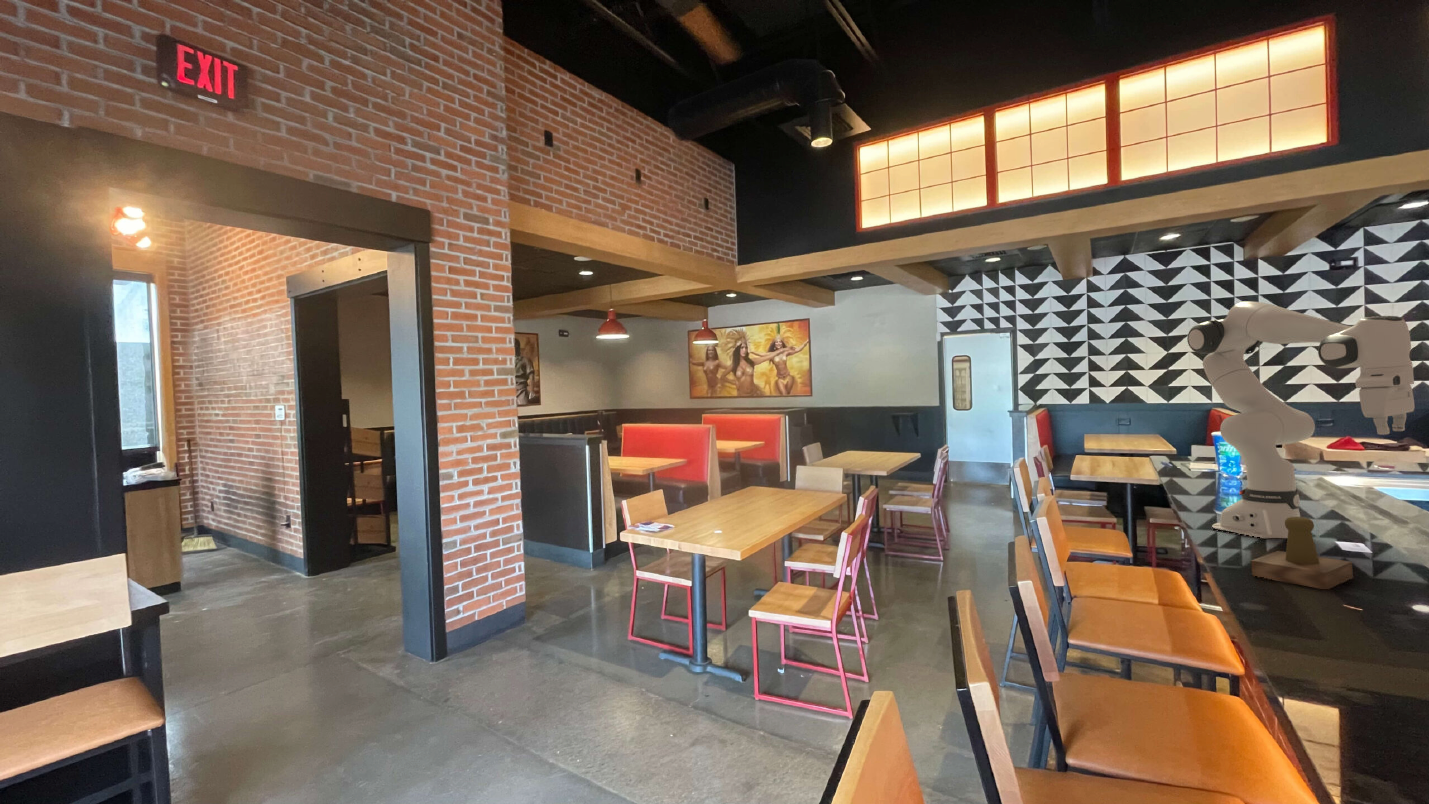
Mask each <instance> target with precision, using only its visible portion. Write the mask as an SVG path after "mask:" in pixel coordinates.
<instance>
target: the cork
mask: <svg viewBox="0 0 1429 804" xmlns="http://www.w3.org/2000/svg"><path fill="white" fill-rule="evenodd" d="M1285 526H1286V528H1287V529H1288V538H1286V539H1287V541H1286V549H1285V550H1286V551H1285V552H1286V559H1285V560H1286V561H1288V562H1292V563H1297V564H1308V565H1314V564H1319V559H1318V557H1319V556H1318V552H1317V549H1316V544H1315V540H1314V538H1313V533H1312V531H1313V530H1314V527H1315V524H1314V522H1313V520H1312V519H1310V518H1308V517H1304V516H1300V517H1289V518H1287V519H1286V520H1285Z"/></svg>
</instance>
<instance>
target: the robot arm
mask: <svg viewBox="0 0 1429 804" xmlns="http://www.w3.org/2000/svg"><path fill="white" fill-rule="evenodd" d="M1227 312H1228V313H1227V314H1226V317H1225V318H1223V319H1210V320H1208V321H1203V322H1201V323H1198V324H1196V325H1194V326H1192V328H1190V330H1189V331H1188V333H1187V336H1186V337H1187V343H1188V346H1189V348H1190V349H1191V350H1192V351H1193V352H1195V353H1198V354H1205V355H1206V356H1205V357H1203V360H1202V367H1203V370H1204V373H1205V375H1206V378H1207V379H1208V381H1209V383H1210V384H1211V386H1212V387H1213V389H1214V390H1215V392H1216V394H1217V395H1218V396H1219V398H1220V400H1221V401H1222V402H1223V404H1224V405H1225V406H1226V407H1227V408H1229V409H1231V410H1235V411H1238V412H1240V413H1237V414H1234V415H1230V416H1228V417H1226V418H1224V419H1223V420H1222V422H1221V424H1220V427H1219V428H1220V429H1219V431H1220V432H1219V433H1220V435H1221V437H1222V439H1223V440H1224V441H1225V442H1226V443H1227V444H1228V445H1231V447H1233V448H1234V449H1235V450H1236V451H1237V452H1238V453H1239V455H1240V456H1241V458H1242V460H1243V463H1244V466H1245V471H1246V478H1247V487H1246V488H1244V489H1241V490H1239V491H1238V492H1239V493H1238V495H1239V496H1240V495H1241V499H1240V500H1238V501H1236V502H1235V503H1233V504H1231V505H1229V506H1227V507H1225V508H1224V509H1223V510H1222V511H1221V515H1220V520H1219V522H1216V523H1213V524H1212V525H1211V528H1212V527H1213V528H1215V529H1220V530H1226V531H1231V532H1237V533H1239V534H1238V535H1240V534H1244V535H1243V536H1246V535H1249V536H1248V537H1252V536H1254V537H1253V538H1257V537H1260V538H1259V539H1288V529H1287V528H1286V526H1285V520H1286V519H1287V518H1289V517H1301V513H1300V510H1299V508H1300V503H1301V502H1300V495H1299V490H1298V489H1297V486H1296V485H1297V484H1296V473H1295V466H1294V465H1293V463H1292V462H1291V461H1289V460H1288V459H1286V458H1283V457H1282V456H1281V454H1280V453H1279V451H1278V449H1277V446H1279V445H1291V444H1292V445H1293V444H1297V443H1299V442H1302V441H1305V440H1308V439H1309V438H1311V437H1312V436H1313V434H1314V433H1315V430H1316V426H1315V420H1314V419H1313V418H1312V416H1311V415H1309V413H1307V412H1305V411H1301V410H1299V409H1296V408H1294V407H1292V406H1290V405H1288V404H1287V403H1285V402H1284V401H1282V400H1280V399H1279V398H1278V397H1276V396H1275V395H1274V394H1273V393H1271V392H1270V391H1269V390H1268V389H1266V387H1265V386H1264V385H1263V384H1262V383H1261V381H1260V379H1258V377H1257V376H1256V374H1255V373H1254V372H1253V371H1252V369H1251V368H1250V366H1249V365H1248V364H1247V363H1246V361H1245V359H1244V356H1245V355H1250V354H1253V353H1254V352H1255V351H1256V349H1257V348H1258V347H1260V346H1261V345H1263V343H1266V344H1267V343H1268V344H1273V345H1285V344H1301V343H1303V344H1304V343H1318V348H1317V354H1318V355H1317V356H1318V358H1319V360H1320V361H1321V363H1323V364H1324V365H1325V366H1326V367H1329V368H1333V369H1335V368H1336V369H1349V368H1360V369H1359V370H1360V374H1359V376H1358V377H1357V378H1356V379H1355V382H1354V383H1355V387H1356V388H1357V389H1359V390H1358V396H1359V397H1358V398H1359V402H1360V408H1361V413H1362V414H1363V416H1364V417H1365V418H1372V419H1373V423H1374V425H1375V427H1376V432H1377V433H1376V434H1377V435H1379V436H1380V435H1383V436H1384V435H1389V434H1390V433H1391V432H1390V430H1391V429H1390V427H1389V426H1388V417H1392V419H1393V420H1392V421H1393V422H1392V424H1391V426H1392V427H1391V428H1392V431H1393V432H1403V431H1405V430H1406V427H1405V425H1406V421H1407V413H1413V412H1414V411H1415V407H1416V406H1415V399H1414V398H1415V397H1414V393H1413V387H1412V385H1414V384H1415V379H1414V378H1415V377H1414V368H1413V367H1414V366H1413V362H1412V360H1411V358H1410V353H1411V349H1412V343H1411V335H1410V334H1411V333H1410V330H1409V327H1408V324H1407V322H1406V320H1405V319H1404V318H1403V317H1401V316H1398V315H1396V316H1395V315H1371V316H1370V315H1369V316H1365V317H1362V318H1360V319H1358V321H1357V322H1356V323H1355V324H1354V325H1352V324H1351V325H1350V324H1347V323H1342V322H1339V321H1334V320H1328V319H1324V318H1320V317H1317V316H1313V315H1309V314H1305V313H1301V312H1298V311H1295V310H1292V309H1289V308H1284V307H1282V306H1278V305H1275V304H1271V303H1268V302H1267V303H1266V302H1260V301H1253V300H1252V301H1250V300H1249V301H1245V300H1244V301H1241V302H1239V303H1236V304H1234V305H1233V306H1232V307H1231V308H1230V309H1229V311H1227Z"/></svg>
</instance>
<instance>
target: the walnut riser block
mask: <svg viewBox="0 0 1429 804" xmlns="http://www.w3.org/2000/svg"><path fill="white" fill-rule="evenodd" d="M1285 559H1286V551H1282V550H1275V551H1274V552H1270V553H1268V554H1265V555H1262V556H1260V557H1256V558H1254V559H1251V561H1250V562H1251V564H1250V565H1251V576H1252V575H1253V576H1252V577H1255V576H1257V578H1260V577H1264V578H1263V579H1266V578H1267V579H1268V580H1271V579H1272V580H1273V581H1278V582H1283V583H1288V584H1293V585H1301V586H1304V587H1305V586H1306V587H1310V588H1315V589H1322V590H1325V589H1328V590H1329V589H1332V588H1334V587H1336V586H1335V585H1337V586H1338V584H1339V585H1341V584H1343V583H1345V582H1348V581H1350V580H1352V579H1353V578H1354V576H1353V574H1354V573H1353V562H1352V561H1348V560H1341V559H1336V558H1335V559H1334V558H1328V557H1322V556H1321V557H1320V556H1318V559H1319V564H1314V565H1308V564H1297V563H1292V562H1288V561H1286V560H1285ZM1349 579H1350V580H1349ZM1347 580H1348V581H1347ZM1340 583H1341V584H1340Z"/></svg>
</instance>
